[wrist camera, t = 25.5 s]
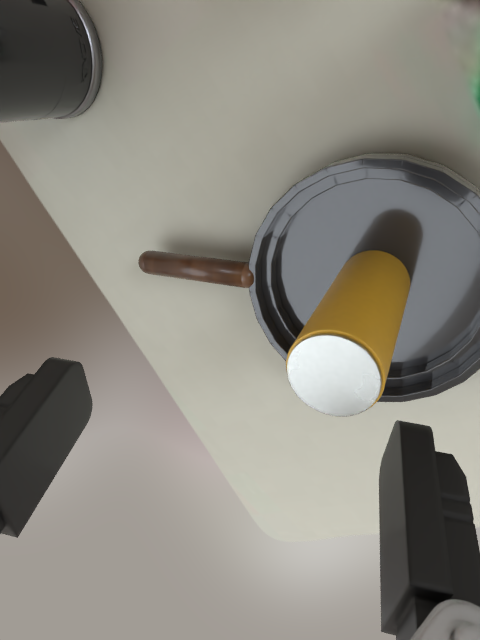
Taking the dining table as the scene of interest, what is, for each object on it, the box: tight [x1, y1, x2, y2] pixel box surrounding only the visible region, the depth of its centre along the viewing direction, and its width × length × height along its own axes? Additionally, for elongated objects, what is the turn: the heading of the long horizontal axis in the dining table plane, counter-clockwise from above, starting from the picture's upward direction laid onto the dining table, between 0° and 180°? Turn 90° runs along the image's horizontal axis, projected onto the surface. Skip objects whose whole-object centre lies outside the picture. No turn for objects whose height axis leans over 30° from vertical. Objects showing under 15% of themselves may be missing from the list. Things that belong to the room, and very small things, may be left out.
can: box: [286, 250, 410, 416], centre depth 29 cm, size 5×5×13 cm
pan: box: [249, 153, 480, 402], centre depth 33 cm, size 18×18×3 cm
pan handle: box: [139, 251, 254, 288], centre depth 38 cm, size 11×2×2 cm, turn 92°
